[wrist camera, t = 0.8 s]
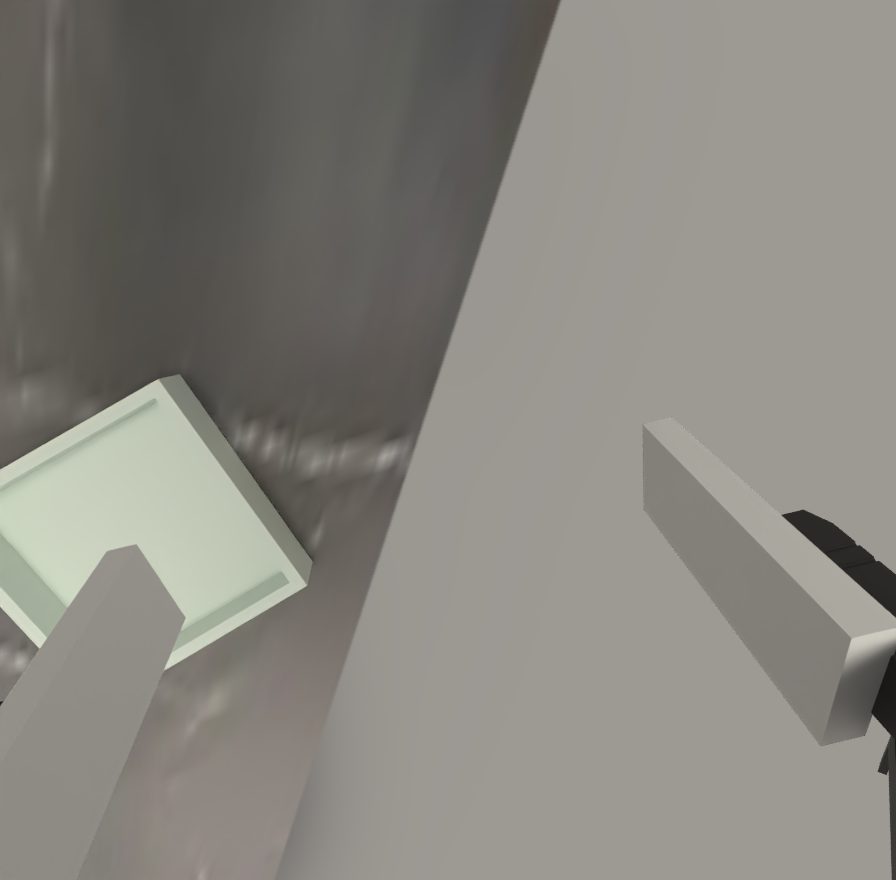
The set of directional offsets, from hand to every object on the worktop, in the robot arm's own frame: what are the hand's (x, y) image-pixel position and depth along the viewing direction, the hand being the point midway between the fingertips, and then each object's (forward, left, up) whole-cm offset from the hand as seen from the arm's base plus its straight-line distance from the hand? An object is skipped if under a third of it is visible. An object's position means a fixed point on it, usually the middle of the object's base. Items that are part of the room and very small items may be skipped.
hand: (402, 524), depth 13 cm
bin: (0, -18, -23) cm, 29 cm away
